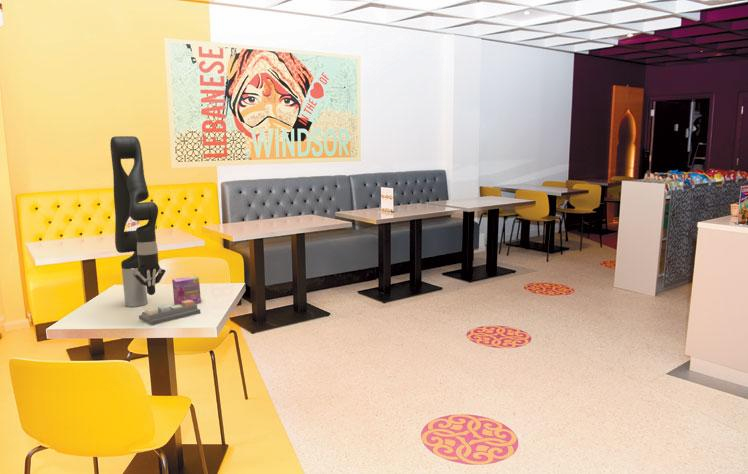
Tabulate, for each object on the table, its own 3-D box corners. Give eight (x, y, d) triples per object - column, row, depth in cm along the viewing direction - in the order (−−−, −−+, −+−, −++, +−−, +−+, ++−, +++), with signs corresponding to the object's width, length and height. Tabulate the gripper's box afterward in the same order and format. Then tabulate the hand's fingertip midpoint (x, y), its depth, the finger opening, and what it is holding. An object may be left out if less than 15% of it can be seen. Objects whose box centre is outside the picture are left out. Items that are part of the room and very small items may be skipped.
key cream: (145, 313, 227) (144, 309, 226) (154, 311, 229) (153, 307, 229) (149, 315, 224) (148, 311, 224) (158, 313, 227) (157, 309, 226)
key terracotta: (181, 305, 237) (181, 301, 237) (189, 303, 240) (189, 299, 240) (185, 307, 235) (185, 303, 234) (194, 305, 237) (193, 301, 237)
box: (178, 307, 245) (175, 281, 243) (174, 304, 250) (171, 278, 248) (201, 303, 251) (199, 277, 249) (197, 300, 256) (195, 275, 254)
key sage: (170, 310, 234) (169, 306, 234) (178, 308, 237) (178, 304, 236) (174, 312, 231) (173, 308, 231) (182, 310, 234) (182, 306, 234)
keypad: (139, 318, 230) (138, 311, 229) (187, 307, 244) (186, 300, 244) (151, 325, 221) (150, 317, 221) (200, 313, 236) (199, 305, 235)
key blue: (157, 311, 230) (157, 306, 230) (166, 309, 233) (166, 304, 233) (161, 312, 228) (161, 308, 227) (170, 310, 230) (170, 306, 230)
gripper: (159, 248, 230) (162, 289, 233) (126, 253, 221) (131, 296, 224) (167, 250, 225) (171, 292, 228) (134, 256, 215) (139, 299, 218)
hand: (151, 294), depth 226 cm, fingers closed
